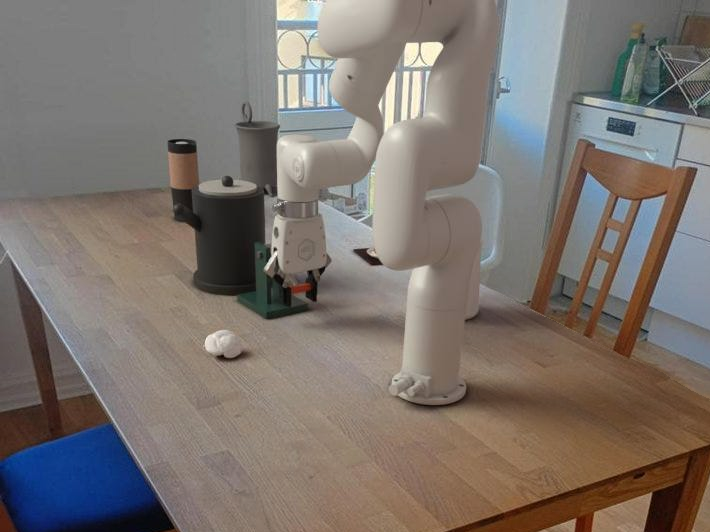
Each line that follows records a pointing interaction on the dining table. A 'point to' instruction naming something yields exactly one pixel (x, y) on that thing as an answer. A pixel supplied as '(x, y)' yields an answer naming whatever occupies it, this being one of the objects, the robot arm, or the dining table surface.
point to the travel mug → (183, 171)
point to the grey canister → (258, 150)
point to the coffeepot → (474, 286)
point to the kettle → (225, 234)
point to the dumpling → (223, 344)
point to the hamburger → (368, 255)
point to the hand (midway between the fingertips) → (298, 301)
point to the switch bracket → (268, 291)
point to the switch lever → (294, 281)
